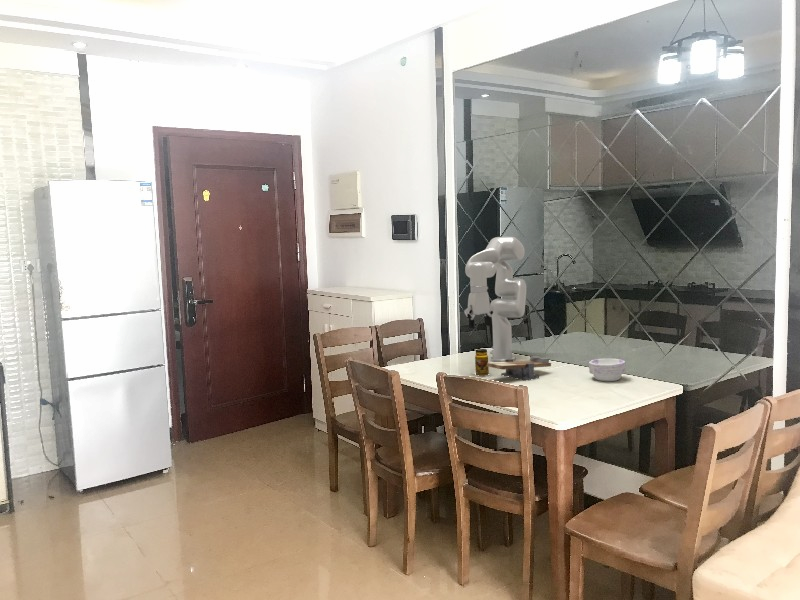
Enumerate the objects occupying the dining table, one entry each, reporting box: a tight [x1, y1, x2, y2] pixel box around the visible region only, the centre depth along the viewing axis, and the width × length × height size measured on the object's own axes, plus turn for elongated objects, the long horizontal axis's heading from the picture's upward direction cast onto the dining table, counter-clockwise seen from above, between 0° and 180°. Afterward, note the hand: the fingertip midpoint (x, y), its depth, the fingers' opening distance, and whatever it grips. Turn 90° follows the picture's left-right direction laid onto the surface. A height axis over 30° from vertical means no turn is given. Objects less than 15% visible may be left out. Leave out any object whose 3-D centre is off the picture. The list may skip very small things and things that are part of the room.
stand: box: [500, 359, 540, 381], centre depth 295 cm, size 16×8×7 cm, turn 34°
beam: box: [487, 355, 552, 371], centre depth 294 cm, size 10×30×4 cm, turn 124°
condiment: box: [471, 348, 490, 377], centre depth 303 cm, size 7×8×12 cm
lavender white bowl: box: [588, 358, 627, 382], centre depth 282 cm, size 15×15×8 cm
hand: (479, 326), depth 301 cm, fingers open, 9 cm apart
